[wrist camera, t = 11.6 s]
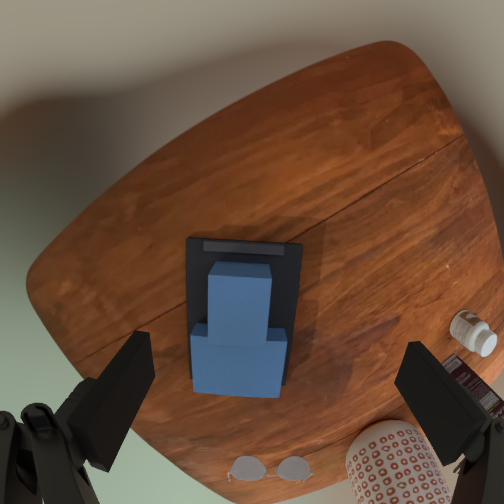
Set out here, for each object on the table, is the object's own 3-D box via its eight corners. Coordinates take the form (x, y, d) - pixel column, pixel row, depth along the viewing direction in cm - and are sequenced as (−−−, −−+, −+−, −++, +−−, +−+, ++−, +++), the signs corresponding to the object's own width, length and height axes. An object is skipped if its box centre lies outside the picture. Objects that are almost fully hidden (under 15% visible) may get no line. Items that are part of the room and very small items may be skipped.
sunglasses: (311, 455, 37) (314, 478, 32) (301, 471, 40) (303, 492, 35) (229, 454, 36) (227, 478, 32) (228, 470, 40) (227, 492, 35)
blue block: (216, 260, 29) (208, 274, 24) (269, 263, 29) (272, 278, 24) (214, 321, 30) (207, 344, 25) (264, 324, 30) (265, 348, 25)
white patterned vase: (411, 397, 34) (488, 525, 6) (409, 438, 37) (461, 544, 9) (334, 429, 35) (375, 582, 7) (344, 465, 38) (375, 583, 10)
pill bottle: (472, 311, 31) (503, 332, 23) (461, 337, 32) (489, 361, 24) (456, 306, 31) (489, 329, 23) (444, 334, 32) (473, 359, 24)
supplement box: (459, 381, 34) (505, 434, 18) (438, 397, 34) (480, 455, 19) (455, 350, 32) (512, 407, 17) (432, 368, 33) (485, 432, 17)
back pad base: (188, 237, 29) (178, 243, 25) (301, 243, 29) (308, 251, 25) (191, 375, 33) (185, 393, 29) (284, 381, 33) (287, 400, 29)
